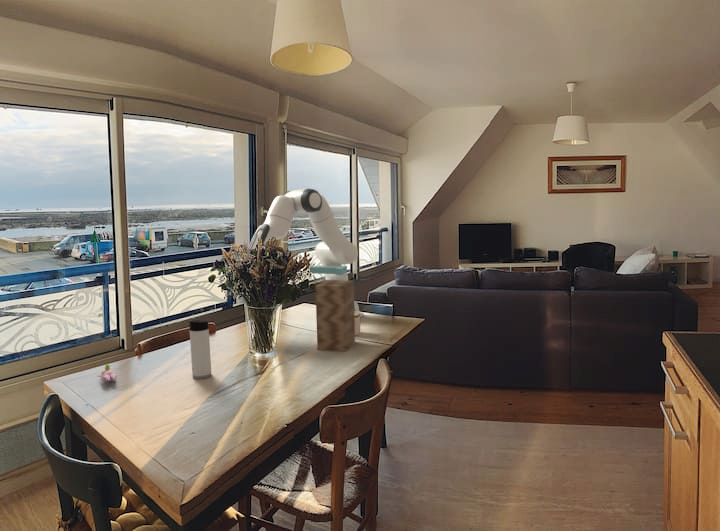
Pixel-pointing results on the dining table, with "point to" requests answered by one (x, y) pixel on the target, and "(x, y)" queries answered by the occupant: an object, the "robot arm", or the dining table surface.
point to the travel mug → (200, 349)
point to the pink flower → (108, 374)
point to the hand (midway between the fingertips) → (309, 268)
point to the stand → (335, 315)
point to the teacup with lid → (357, 322)
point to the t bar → (328, 270)
